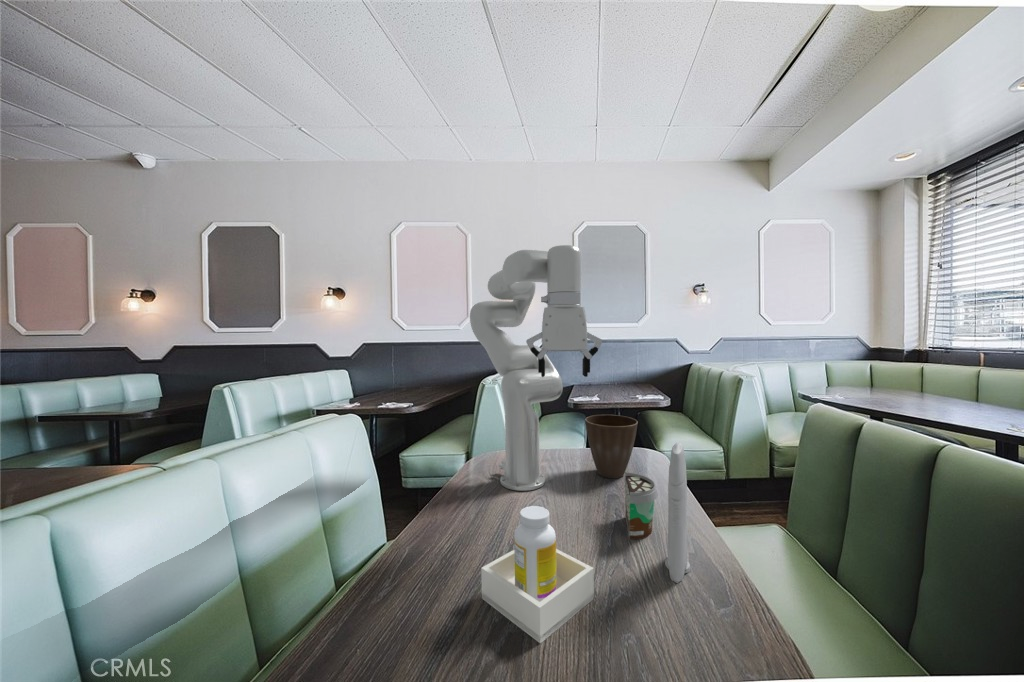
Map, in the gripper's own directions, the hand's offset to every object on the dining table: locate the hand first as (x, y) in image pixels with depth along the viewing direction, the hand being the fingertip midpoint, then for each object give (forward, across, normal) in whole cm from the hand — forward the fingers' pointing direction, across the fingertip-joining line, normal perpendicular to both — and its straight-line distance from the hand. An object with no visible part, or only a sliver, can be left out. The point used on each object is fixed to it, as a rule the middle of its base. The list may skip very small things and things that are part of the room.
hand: (563, 376), depth 90 cm
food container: (+32, +16, -7) cm, 37 cm away
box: (+32, -7, -29) cm, 44 cm away
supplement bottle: (+31, -7, -29) cm, 43 cm away
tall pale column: (+32, +18, -20) cm, 42 cm away
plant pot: (+32, +16, +25) cm, 44 cm away
